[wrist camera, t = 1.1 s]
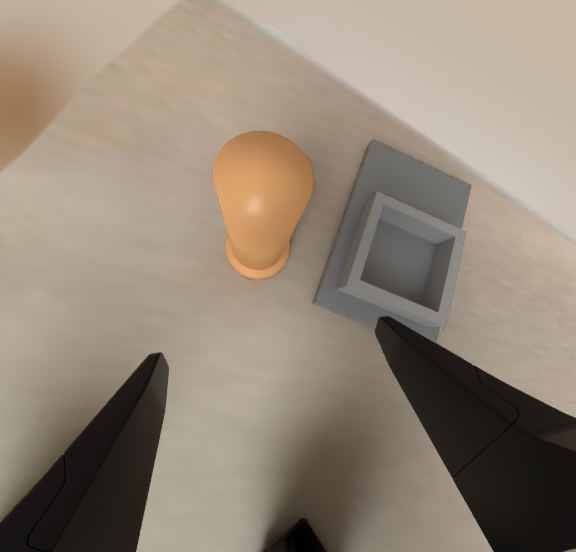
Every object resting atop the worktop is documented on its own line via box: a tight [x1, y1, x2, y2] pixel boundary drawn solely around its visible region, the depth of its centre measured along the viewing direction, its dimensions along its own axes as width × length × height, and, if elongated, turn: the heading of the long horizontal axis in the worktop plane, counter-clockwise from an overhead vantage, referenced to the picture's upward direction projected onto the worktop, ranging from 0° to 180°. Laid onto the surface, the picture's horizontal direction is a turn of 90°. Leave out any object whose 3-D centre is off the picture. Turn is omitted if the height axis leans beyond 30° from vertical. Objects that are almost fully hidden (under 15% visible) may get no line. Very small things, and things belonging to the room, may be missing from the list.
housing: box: [313, 139, 471, 343], centre depth 25 cm, size 20×13×4 cm, turn 159°
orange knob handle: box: [213, 131, 314, 280], centre depth 18 cm, size 6×6×13 cm
